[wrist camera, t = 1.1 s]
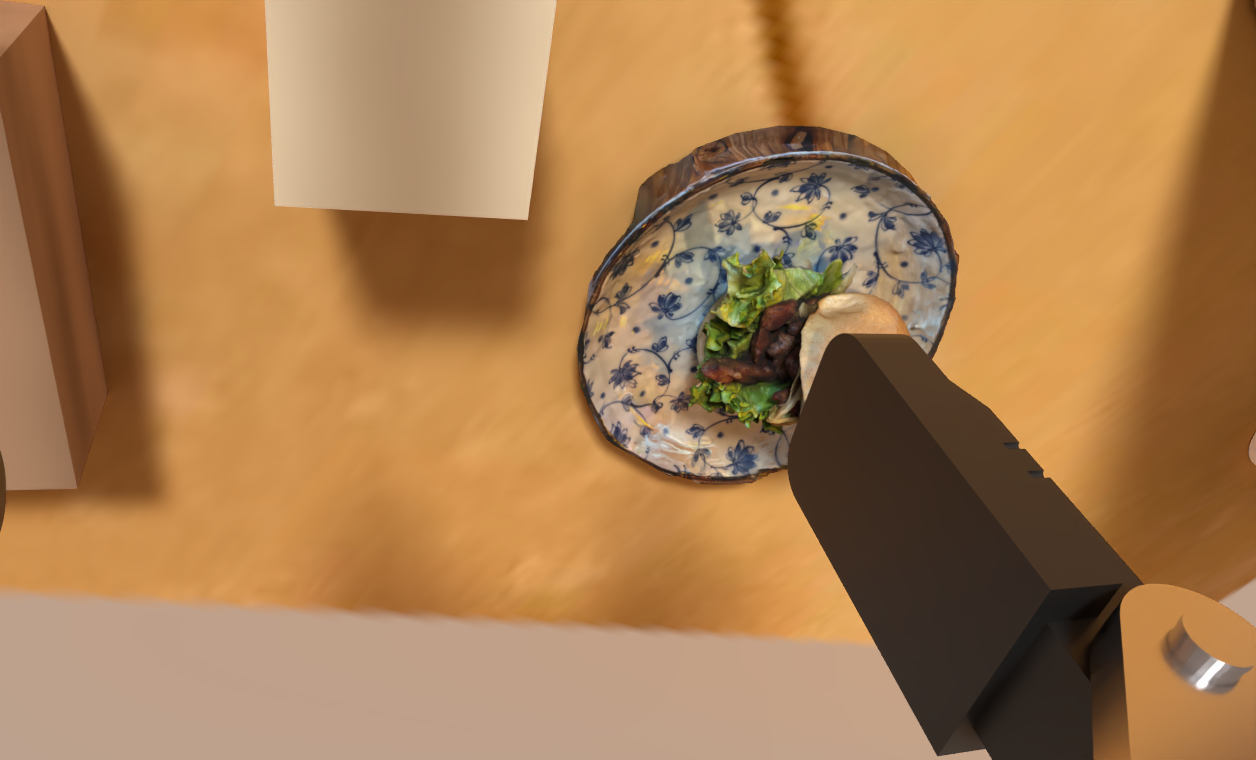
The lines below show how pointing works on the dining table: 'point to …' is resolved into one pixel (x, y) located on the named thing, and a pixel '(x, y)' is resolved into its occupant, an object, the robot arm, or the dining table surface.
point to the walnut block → (41, 273)
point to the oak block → (407, 103)
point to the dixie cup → (1253, 449)
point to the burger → (754, 294)
